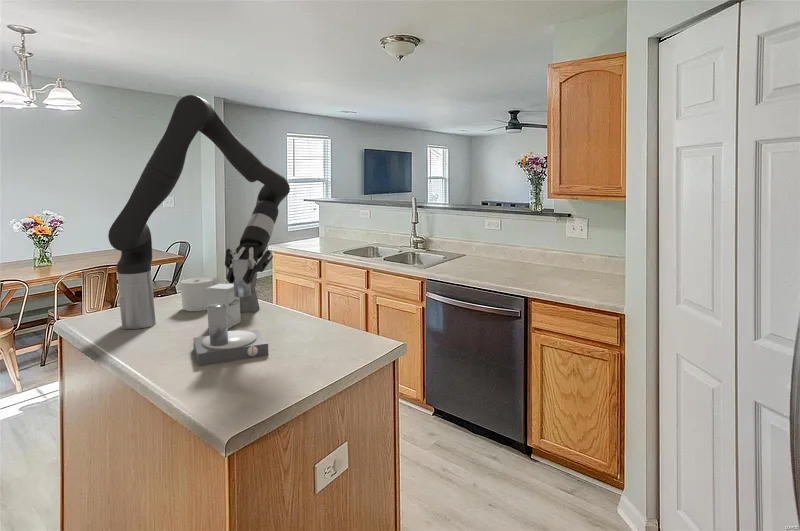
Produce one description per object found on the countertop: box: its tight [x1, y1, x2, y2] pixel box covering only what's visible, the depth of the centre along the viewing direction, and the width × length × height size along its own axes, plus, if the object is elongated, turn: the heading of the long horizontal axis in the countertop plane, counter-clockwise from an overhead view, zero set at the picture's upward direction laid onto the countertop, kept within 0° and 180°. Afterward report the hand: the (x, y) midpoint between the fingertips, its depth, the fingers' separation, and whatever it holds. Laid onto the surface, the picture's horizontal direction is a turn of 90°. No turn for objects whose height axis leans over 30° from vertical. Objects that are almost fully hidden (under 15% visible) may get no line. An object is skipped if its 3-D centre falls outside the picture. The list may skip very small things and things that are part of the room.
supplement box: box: [206, 283, 242, 330], centre depth 153 cm, size 7×7×13 cm
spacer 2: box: [232, 258, 251, 297], centre depth 134 cm, size 4×4×10 cm
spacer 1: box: [207, 304, 229, 346], centre depth 125 cm, size 4×4×10 cm
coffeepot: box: [239, 264, 261, 314], centre depth 172 cm, size 15×9×18 cm, turn 44°
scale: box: [192, 328, 269, 366], centre depth 130 cm, size 17×14×4 cm
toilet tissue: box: [180, 276, 221, 312], centre depth 175 cm, size 11×12×10 cm
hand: (238, 282), depth 133 cm, fingers closed on spacer 2, 4 cm apart
